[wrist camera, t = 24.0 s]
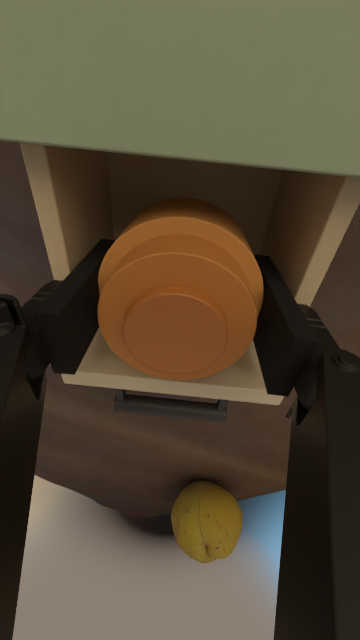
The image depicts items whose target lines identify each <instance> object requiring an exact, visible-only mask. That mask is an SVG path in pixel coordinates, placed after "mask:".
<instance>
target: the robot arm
mask: <svg viewBox="0 0 360 640" xmlns="http://www.w3.org/2000/svg"><path fill="white" fill-rule="evenodd" d="M115 241H116V240H109V239H101V240H100V241H99V242H98V243H97V244H96V246H95V247H94V248H93V249H92V250H91V251H90V252H89V253H88V254H87V255H86V256H85V257H84V258H83V260H82V261H81V262H80V263H79V264H78V265H77V266H76V267H75V268H74V269H73V270H72V271H71V272H70V274H69V275H68V276H67V277H66V278H65V279H64V280H63V281H62V280H54V281H52V282H50V283H48V284H46V285H44V286H43V287H42V288H41V289H40V290H39V291H38V292H37V293H36V294H35V295H34V296H33V297H32V299H30V300H29V301H28V302H27V303H26V304H25V305H23V306H22V307H20V304H19V301H18V299H17V298H15V297H14V296H10V295H0V640H12V636H13V629H14V622H15V614H16V606H17V599H18V592H19V585H20V577H21V569H22V561H23V554H24V547H25V540H26V532H27V525H28V517H29V510H30V503H31V495H32V488H33V480H34V473H35V465H36V458H37V450H38V443H39V435H40V428H41V421H42V413H43V406H44V398H45V391H46V383H47V378H46V374H45V370H46V368H47V366H48V365H49V363H51V366H52V369H53V371H54V373H60V374H70V375H75V373H76V371H77V369H78V367H79V365H80V363H81V362H82V360H83V358H84V356H85V354H86V352H87V350H88V348H89V346H90V344H91V342H92V340H93V338H94V336H95V334H96V332H97V330H98V328H99V323H98V315H97V311H98V302H99V298H100V293H99V285H98V274H99V269H100V266H101V263H102V261H103V258H104V257H105V255H106V253H107V251H108V250H109V248H110V247H111V246H112V245H113V243H114V242H115ZM254 257H255V259H256V261H257V264H258V266H259V268H260V271H261V275H262V278H263V287H264V294H263V302H262V306H261V309H260V312H259V315H258V318H257V327H256V331H255V335H254V338H253V342H254V346H255V349H256V353H257V357H258V361H259V364H260V368H261V372H262V376H263V379H264V383H265V387H266V391H267V394H269V395H279V396H289V394H290V392H291V390H292V389H293V387H295V390H296V393H297V395H298V396H297V398H296V399H295V401H294V403H293V404H292V406H291V408H290V409H289V411H288V412H287V415H286V417H287V418H289V417H290V416H291V414H292V424H291V436H290V448H289V460H288V472H287V484H286V498H285V509H284V521H283V533H282V546H281V558H280V571H279V581H278V595H277V606H276V618H275V630H274V640H360V358H359V357H357V356H356V355H354V354H352V353H350V352H348V351H345V350H341V349H340V348H339V346H338V345H337V343H336V342H335V340H334V339H333V337H332V336H331V334H330V333H329V331H328V330H327V328H325V325H324V324H323V322H321V319H320V318H319V316H318V315H317V313H316V312H315V311H314V310H313V309H311V308H310V307H309V306H308V305H305V304H297V302H296V301H295V299H294V297H293V295H292V294H291V292H290V290H289V289H288V287H287V285H286V284H285V282H284V280H283V278H282V277H281V275H280V273H279V272H278V270H277V268H276V267H275V265H274V263H273V261H272V260H271V258H270V256H265V255H254Z"/></svg>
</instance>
